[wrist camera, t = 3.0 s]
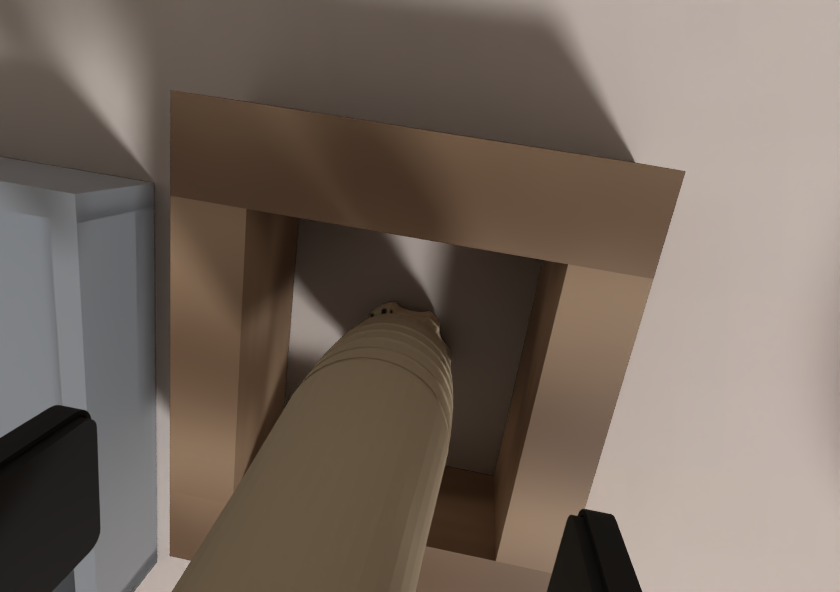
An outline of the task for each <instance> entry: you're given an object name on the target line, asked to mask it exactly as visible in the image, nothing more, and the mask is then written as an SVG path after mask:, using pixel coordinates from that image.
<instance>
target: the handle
mask: <svg viewBox="0 0 840 592" xmlns="http://www.w3.org/2000/svg"><path fill="white" fill-rule="evenodd" d="M439 327H440V324H439V319H438V318H437V317H436V316H435V315H434V314H433V313H432V312H431V311H426V312H416V311H410V310H407V309H404V308H402V307H400V306H398V304H397V303H395V302H389V303H385V304H383V305H381V306H379V307H377V308H375V309H374V310H373V311H372V312H371V313H370V314H369V316H368V319H366V320H364V321H363V322H361V323H360V324H358V325H357V326H355V327H354V328H352V329H351V330H350V331H349V332H347V333H346V334H345V335H344V336H343V337H342V338H340V339H339V340H338V341H337V342H336V343H335V344H334V345H333V346H332V347H331V348H330V349H329V351H328V352H327V353H326V354H325V355H324V356H323V357H322V358H321V359H320V360H319V361H318V363H317V364H316V365H315V366H314V367H313V369H312V370H311V371H310V372H309V374H308V375H307V376H306V378H305V379H304V380H303V381H302V383H301V384H300V385H299V387H298V388H297V390H296V391H295V392H294V393H293V395H292V397H291V398H290V400H289V402H288V403H287V405H286V407H285V408H284V410H283V412H282V413H281V415H280V417H279V418H278V420H277V422H276V423H275V425H274V427H273V428H272V430H271V432H270V433H269V435H268V437H267V438H266V440H265V442H264V443H263V445H262V447H261V448H260V450H259V452H258V453H257V455H256V457H255V458H254V460H253V461H252V463H251V465H250V466H249V468H248V470H247V471H246V473H245V475H244V476H243V478H242V480H241V481H240V483H239V485H238V486H237V488H236V490H235V491H234V493H233V494H232V496H231V498H230V499H229V501H228V502H227V504H226V506H225V507H224V509H223V510H222V512H221V514H220V515H219V517H218V518H217V520H216V522H215V523H214V525H213V527H212V528H211V530H210V531H209V533H208V535H207V536H206V538H205V539H204V541H203V543H202V544H201V546H200V547H199V549H198V551H197V552H196V554H195V555H194V557H193V559H192V560H191V562H190V563H189V565H188V567H187V568H186V570H185V571H184V573H183V575H182V576H181V578H180V580H179V581H178V583H177V584H176V586H175V588H174V589H173V591H172V592H416V588H417V583H418V579H419V574H420V569H421V565H422V560H423V556H424V551H425V547H426V543H427V539H428V535H429V530H430V526H431V522H432V518H433V514H434V510H435V505H436V501H437V497H438V493H439V489H440V484H441V480H442V476H443V472H444V468H445V464H446V459H447V455H448V448H449V443H450V435H451V427H452V416H453V382H452V373H451V353H450V349H449V347H448V346H447V345H446V344H445V343H444V342H443V340H442V338H441V335H440V332H439Z"/></svg>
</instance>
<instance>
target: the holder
mask: <svg viewBox="0 0 840 592" xmlns="http://www.w3.org/2000/svg"><path fill="white" fill-rule="evenodd" d="M684 175H685V171H681V170H675V169H669V168H663V167H657V166H652V165H646V164H640V163H634V162H628V161H622V160H615V159H609V158H602V157H596V156H590V155H583V154H577V153H571V152H564V151H558V150H552V149H545V148H539V147H532V146H526V145H520V144H513V143H507V142H501V141H494V140H488V139H482V138H475V137H469V136H463V135H456V134H450V133H443V132H437V131H431V130H424V129H418V128H412V127H405V126H399V125H393V124H386V123H380V122H373V121H367V120H361V119H354V118H348V117H342V116H335V115H329V114H323V113H316V112H310V111H303V110H297V109H291V108H284V107H278V106H272V105H265V104H259V103H253V102H246V101H239V100H233V99H226V98H219V97H212V96H205V95H199V94H192V93H185V92H178V91H171V141H170V556H173V557H177V558H182V559H186V560H192V559H193V557H194V555H195V554H196V552H197V551H198V549H199V547H200V546H201V544H202V543H203V541H204V539H205V538H206V536H207V535H208V533H209V531H210V530H211V528H212V527H213V525H214V523H215V522H216V520H217V518H218V517H219V515H220V514H221V512H222V510H223V509H224V507H225V506H226V504H227V502H228V501H229V499H230V498H231V496H232V494H233V493H234V491H235V490H236V488H237V486H238V485H239V483H240V481H241V480H242V478H243V476H244V475H245V473H246V471H247V470H248V468H249V466H250V465H251V463H252V461H253V460H254V458H255V457H256V455H257V453H258V452H259V450H260V448H261V447H262V445H263V443H264V442H265V440H266V438H267V437H268V435H269V433H270V432H271V430H272V428H273V427H274V425H275V423H276V422H277V420H278V418H279V417H280V415H281V413H282V412H283V410H284V402H285V389H286V376H287V363H288V350H289V338H290V325H291V312H292V299H293V286H294V273H295V260H296V248H297V235H298V222H299V218H303V219H308V220H314V221H320V222H326V223H332V224H337V225H343V226H349V227H355V228H361V229H366V230H372V231H378V232H384V233H390V234H395V235H401V236H407V237H413V238H419V239H424V240H430V241H436V242H442V243H448V244H453V245H459V246H465V247H471V248H477V249H482V250H488V251H494V252H500V253H505V254H511V255H517V256H523V257H529V258H534V259H540V260H543V264H542V268H541V272H540V277H539V281H538V286H537V290H536V294H535V299H534V303H533V308H532V312H531V316H530V321H529V325H528V329H527V334H526V338H525V343H524V347H523V351H522V356H521V360H520V364H519V369H518V373H517V378H516V382H515V386H514V391H513V395H512V399H511V404H510V408H509V413H508V417H507V421H506V426H505V430H504V434H503V439H502V443H501V448H500V452H499V456H498V461H497V465H496V469H495V474H494V476H490V475H485V474H480V473H475V472H470V471H465V470H461V469H456V468H451V467H446V466H445V468H444V472H443V476H442V480H441V484H440V489H439V493H438V497H437V501H436V505H435V510H434V514H433V518H432V522H431V526H430V530H429V535H428V539H427V543H426V547H425V551H424V556H423V560H422V565H421V569H420V574H419V579H418V583H417V588H416V592H547V589H548V585H549V582H550V578H551V575H552V571H553V568H554V564H555V560H556V557H557V553H558V550H559V546H560V543H561V539H562V536H563V532H564V529H565V525H566V521H567V519H568V517H569V515H575V516H578V513H579V511H580V510H581V509H585V506H586V503H587V499H588V496H589V493H590V489H591V486H592V483H593V479H594V476H595V473H596V469H597V466H598V463H599V459H600V456H601V453H602V449H603V446H604V443H605V439H606V436H607V433H608V429H609V426H610V422H611V419H612V416H613V412H614V409H615V406H616V402H617V399H618V396H619V392H620V389H621V386H622V382H623V379H624V376H625V372H626V369H627V366H628V362H629V359H630V356H631V352H632V349H633V346H634V342H635V339H636V335H637V332H638V329H639V325H640V322H641V319H642V315H643V312H644V309H645V305H646V302H647V299H648V295H649V292H650V289H651V285H652V282H653V279H654V275H655V272H656V269H657V265H658V262H659V259H660V255H661V252H662V248H663V245H664V242H665V238H666V235H667V232H668V228H669V225H670V222H671V218H672V215H673V212H674V208H675V205H676V202H677V198H678V195H679V192H680V188H681V185H682V182H683V178H684Z"/></svg>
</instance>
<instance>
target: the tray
mask: <svg viewBox="0 0 840 592" xmlns="http://www.w3.org/2000/svg"><path fill="white" fill-rule="evenodd" d="M54 405H62V406H67V407H72V408H77V409H82V410H86V411H88V412H89V414H90V415H91V419H92V420H94V421H95V422H96V424H97V440H98V469H99V498H100V527H101V529H100V535H99V538H98V541H97V543H96V545H95V546H94V548H93V549H92V550H91V551H90V552H89V554H88V555H87V556H86V557H85V558H84V559H83V560H82V561H81V562H80V563H79V564H78V565H77V566H76V567H75V568H74V569H73V570H72V571H71V572H70V573H69V574H68V576H67V577H66V578H65V579H64V580H63V581H62V582H61V583H60V584H59V585H58V586H57V587H56V588H55V589H54V590H53V591H52V592H134V591H135V590H136V588H137V587H138V586H139V585H140V583H141V582H142V581H143V579H144V578H145V577H146V576H147V574H148V573H149V572H150V570H151V569H152V568H153V567H154V565H155V564H156V563H157V492H156V367H155V242H154V183H151V182H145V181H139V180H133V179H127V178H121V177H116V176H110V175H104V174H98V173H92V172H86V171H81V170H75V169H69V168H63V167H57V166H51V165H45V164H40V163H34V162H28V161H22V160H16V159H10V158H5V157H0V438H1V437H2V436H4V435H5V434H7V433H9V432H10V431H12V430H14V429H15V428H17V427H19V426H20V425H22V424H23V423H25V422H27V421H28V420H30V419H32V418H33V417H35V416H37V415H38V414H40V413H41V412H43V411H45V410H46V409H48V408H50V407H52V406H54Z"/></svg>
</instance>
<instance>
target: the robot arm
mask: <svg viewBox="0 0 840 592" xmlns="http://www.w3.org/2000/svg"><path fill="white" fill-rule="evenodd" d="M100 529H101V527H100V498H99V469H98V440H97V424H96V422H95V421H94V420H92V419H91V415H90V414H89V412H88V411H86V410H82V409H77V408H72V407H67V406H62V405H54V406H52V407H50V408H48V409H46V410H45V411H43V412H41V413H40V414H38V415H37V416H35V417H33V418H32V419H30V420H28V421H27V422H25V423H23V424H22V425H20V426H19V427H17V428H15V429H14V430H12V431H10V432H9V433H7V434H5V435H4V436H2V437H1V438H0V592H52V591H53V590H54V589H55V588H56V587H57V586H58V585H59V584H60V583H61V582H62V581H63V580H64V579H65V578H66V577H67V576H68V574H69V573H70V572H71V571H72V570H73V569H74V568H75V567H76V566H77V565H78V564H79V563H80V562H81V561H82V560H83V559H84V558H85V557H86V556H87V555H88V554H89V552H90V551H91V550H92V549H93V548H94V546H95V545H96V543H97V541H98V538H99V535H100ZM547 592H642V590H641V587H640V585H639V582H638V579H637V576H636V574H635V571H634V568H633V566H632V563H631V560H630V557H629V555H628V552H627V549H626V546H625V544H624V541H623V538H622V535H621V533H620V530H619V527H618V524H617V522H616V519H615V517H614V516H613V515H612V514H607V513H602V512H597V511H592V510H587V509H581V510H580V511H579V513H578V516H575V515H569V517H568V519H567V521H566V525H565V529H564V532H563V536H562V539H561V543H560V546H559V550H558V553H557V557H556V560H555V564H554V568H553V571H552V575H551V578H550V582H549V585H548V589H547Z"/></svg>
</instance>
